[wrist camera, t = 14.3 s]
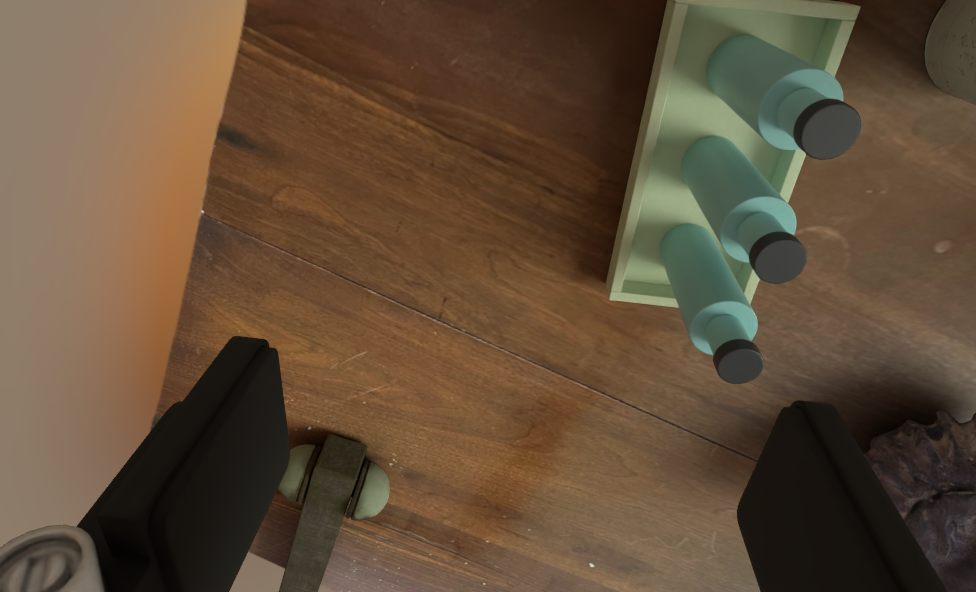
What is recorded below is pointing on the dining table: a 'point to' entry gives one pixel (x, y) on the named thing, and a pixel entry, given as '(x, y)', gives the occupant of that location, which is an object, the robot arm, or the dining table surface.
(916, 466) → the seashell
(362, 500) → the post
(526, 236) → the dining table surface
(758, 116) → the tray bottle
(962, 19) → the thermos bottle
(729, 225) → the tray bottle
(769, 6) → the tray
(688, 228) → the bottle
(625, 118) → the dining table surface
